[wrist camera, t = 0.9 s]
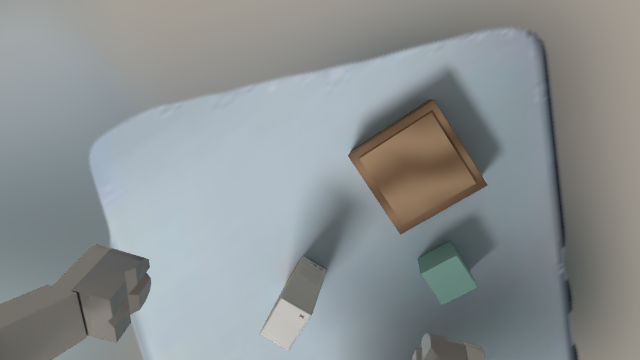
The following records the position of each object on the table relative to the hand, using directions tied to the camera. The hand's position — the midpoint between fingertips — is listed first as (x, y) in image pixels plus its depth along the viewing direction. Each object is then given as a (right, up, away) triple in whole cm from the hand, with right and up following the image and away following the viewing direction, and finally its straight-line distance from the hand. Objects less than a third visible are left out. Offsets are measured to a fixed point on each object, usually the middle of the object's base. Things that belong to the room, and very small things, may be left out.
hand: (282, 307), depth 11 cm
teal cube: (+18, -8, +42) cm, 47 cm away
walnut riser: (+13, +6, +40) cm, 42 cm away
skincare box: (-1, -11, +46) cm, 47 cm away
